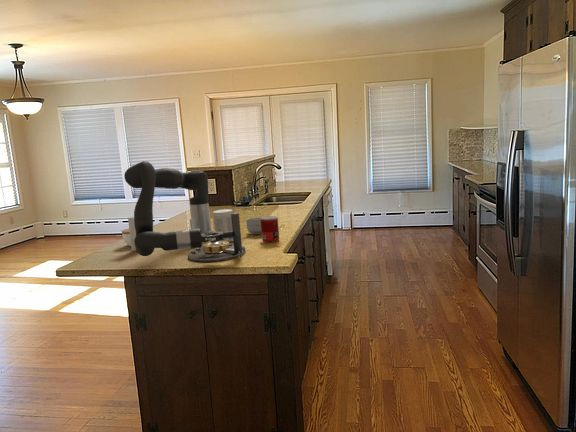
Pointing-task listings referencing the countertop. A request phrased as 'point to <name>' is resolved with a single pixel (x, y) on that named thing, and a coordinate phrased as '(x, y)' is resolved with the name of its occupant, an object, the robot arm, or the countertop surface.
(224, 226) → the supplement tub
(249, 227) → the teacup
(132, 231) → the skincare box
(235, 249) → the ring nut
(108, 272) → the countertop surface
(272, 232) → the canned food
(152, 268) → the countertop surface
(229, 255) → the flange plate
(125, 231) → the lidded jar
